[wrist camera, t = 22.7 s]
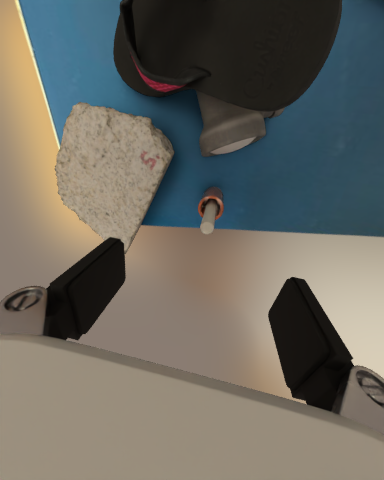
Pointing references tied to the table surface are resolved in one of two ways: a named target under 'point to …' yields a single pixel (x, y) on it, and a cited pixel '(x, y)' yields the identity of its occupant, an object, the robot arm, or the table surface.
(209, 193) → the pen cup
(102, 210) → the rock
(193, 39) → the sandal
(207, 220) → the stylus
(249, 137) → the pipe fitting
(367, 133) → the table surface
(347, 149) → the table surface
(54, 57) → the table surface
